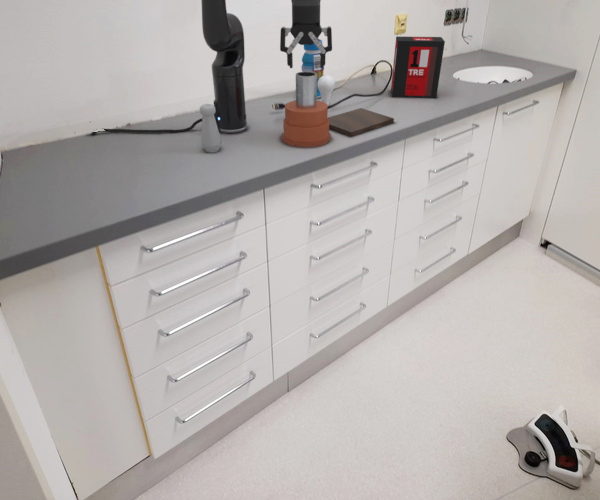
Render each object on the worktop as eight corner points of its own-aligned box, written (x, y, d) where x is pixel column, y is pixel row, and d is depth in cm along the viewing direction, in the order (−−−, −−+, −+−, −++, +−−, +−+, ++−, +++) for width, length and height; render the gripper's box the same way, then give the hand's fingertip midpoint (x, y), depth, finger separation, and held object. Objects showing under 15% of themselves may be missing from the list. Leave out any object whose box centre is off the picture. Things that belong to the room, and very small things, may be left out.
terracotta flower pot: (280, 147, 139) (279, 113, 134) (283, 130, 152) (283, 98, 146) (330, 147, 139) (331, 113, 133) (330, 130, 151) (331, 98, 145)
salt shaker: (213, 144, 141) (208, 100, 134) (226, 149, 138) (222, 104, 131) (198, 150, 137) (192, 105, 130) (211, 155, 134) (206, 109, 127)
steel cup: (295, 108, 137) (295, 76, 132) (296, 102, 142) (296, 71, 137) (316, 108, 137) (316, 76, 132) (316, 102, 142) (317, 71, 137)
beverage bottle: (299, 98, 181) (298, 41, 170) (304, 92, 188) (304, 37, 177) (321, 99, 179) (322, 42, 168) (325, 93, 186) (326, 38, 175)
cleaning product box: (392, 97, 181) (397, 40, 170) (390, 90, 189) (396, 36, 178) (436, 98, 180) (444, 41, 169) (433, 91, 187) (441, 37, 176)
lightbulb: (320, 110, 168) (320, 78, 162) (315, 105, 173) (315, 74, 167) (336, 108, 170) (337, 76, 164) (330, 103, 175) (331, 72, 168)
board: (350, 136, 146) (351, 132, 145) (318, 124, 156) (318, 120, 155) (393, 122, 157) (394, 118, 156) (360, 112, 166) (360, 107, 165)
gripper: (332, 1, 127) (331, 64, 136) (280, 1, 128) (282, 64, 137) (333, 4, 121) (331, 70, 130) (277, 4, 122) (280, 70, 131)
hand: (306, 67), depth 134 cm, fingers open, 8 cm apart
